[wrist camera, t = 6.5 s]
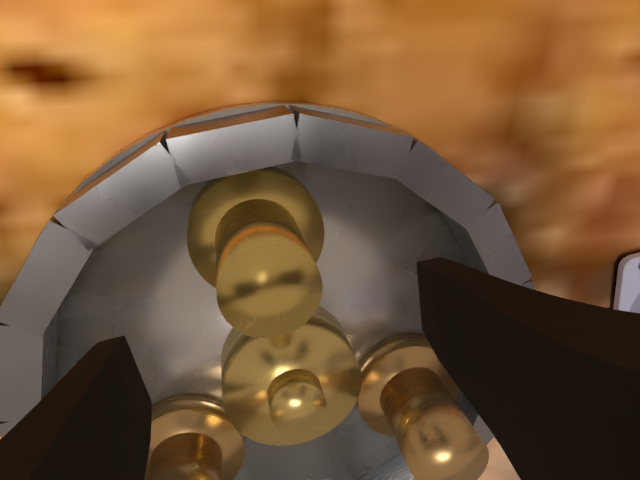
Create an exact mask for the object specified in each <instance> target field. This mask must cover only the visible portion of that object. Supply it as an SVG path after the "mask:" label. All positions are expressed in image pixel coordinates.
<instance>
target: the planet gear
mask: <svg viewBox="0 0 640 480" xmlns="http://www.w3.org/2000/svg"><path fill="white" fill-rule="evenodd" d="M323 243H324V223H323V218H322V215H321V212H320V210H319V207H318V206H317V204H316V202H315V200H314V199H313V197H312V196H311V194H310V193H309V191H308V190H307V189H306V187H305V186H304V185H303V184H302V183H301V182H300V181H299V180H298V179H297V178H296V177H295V176H293V175H292V174H291V173H289V172H287V171H285V170H283V169H281V168H278V167H276V166H271V167H267V168H262V169H257V170H253V171H248V172H243V173H239V174H234V175H230V176H225V177H220V178H216V179H211V180H209V181H208V182H207V183H206V184H205V185H204V186H203V187H202V188H201V189H200V191H199V192H198V193H197V195H196V197H195V199H194V201H193V203H192V206H191V209H190V213H189V219H188V227H187V247H188V251H189V255H190V258H191V261H192V263H193V265H194V267H195V268H196V270H197V271H198V273H199V274H200V275H201V277H202V278H203V279H204V280H205V281H206V282H208V283H209V284H210V285H211V286H213V287H214V288H216V289H217V303H218V307H219V309H220V312H221V314H222V316H223V317H224V319H225V320H226V321H227V322H228V323H229V324H230V325H231V326H232V327H233V328H235V329H236V330H238V331H239V332H241V333H243V334H246V335H249V336H253V337H258V338H274V337H279V336H283V335H286V334H289V333H291V332H293V331H295V330H297V329H298V328H300V327H301V326H303V325H304V324H305V323H306V322H307V321H308V320H309V319H310V318H311V317H312V316H313V314H314V313H315V311H316V310H317V308H318V306H319V304H320V301H321V297H322V291H323V285H322V278H321V274H320V272H319V270H318V267H317V265H316V263H317V261H318V259H319V257H320V255H321V251H322V248H323Z"/></svg>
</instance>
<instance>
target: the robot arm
mask: <svg viewBox="0 0 640 480" xmlns="http://www.w3.org/2000/svg"><path fill="white" fill-rule="evenodd" d="M639 263H640V252H639V253H635V254H631V255H628V256H626V257H624V258H623V259H622V260H621V261H620V263H619V266H618V273H617V282H616V290H615V299H614V307H613V309H610V308H605V307H599V306H594V305H590V304H586V303H581V302H577V301H573V300H568V299H564V298H561V297H557V296H553V295H550V294H546V293H543V292H540V291H536V290H533V289H530V288H527V287H524V286H521V285H518V284H515V283H512V282H509V281H506V280H503V279H500V278H498V277H495V276H492V275H489V274H487V273H484V272H481V271H479V270H476V269H474V268H471V267H468V266H466V265H463V264H460V263H457V262H455V261H452V260H449V259H446V258H442V257H436V258H432V259H428V260H424V261H420V262H416V264H417V276H418V288H419V299H420V311H421V322H422V330H423V332H424V334H425V336H426V338H427V340H428V342H429V344H430V345H431V347H432V349H433V351H434V353H435V354H436V356H437V358H438V360H439V361H440V363H441V364H442V366H443V367H444V368H445V370H446V371H447V373H448V374H449V375H450V377H451V378H452V379H453V381H454V382H455V383H456V385H457V386H458V388H459V389H460V390H461V392H462V393H463V394H464V396H465V397H466V398H467V400H468V401H469V402H470V404H471V405H472V406H473V408H474V409H475V410H476V412H477V413H478V414H479V416H480V417H481V418H482V420H483V421H484V422H485V424H486V425H487V426H488V428H489V429H490V431H491V432H492V434H493V435H494V436H495V438H496V439H497V441H498V442H499V444H500V445H501V447H502V448H503V450H504V452H505V454H506V455H507V457H508V459H509V460H510V462H511V464H512V465H513V467H514V469H515V470H516V472H517V474H518V475H519V477H520V479H521V480H640V264H639ZM151 421H152V401H151V399H150V396H149V394H148V391H147V389H146V386H145V384H144V382H143V379H142V377H141V374H140V372H139V369H138V367H137V364H136V362H135V359H134V357H133V354H132V352H131V350H130V347H129V345H128V342H127V340H126V337H125V335H124V336H120V337H116V338H112V339H108V340H104V341H100V342H97V343H96V344H95V345H94V346H93V347H92V348H91V349H90V350H89V351H88V352H87V353H86V354H85V355H84V356H83V357H82V358H81V359H80V360H79V361H78V362H77V363H76V364H75V365H74V366H73V367H72V368H71V369H70V370H69V372H68V373H67V374H66V375H65V376H64V377H63V378H62V379H61V380H60V381H59V382H58V383H57V384H56V385H55V386H54V387H53V388H52V389H51V390H50V391H49V392H48V394H47V395H46V396H45V397H44V398H43V399H42V400H41V401H40V402H39V403H38V404H37V405H36V406H35V407H34V408H33V409H32V410H31V411H30V412H29V413H27V414H26V415H25V416H24V417H23V418H22V419H21V420H20V421H19V422H18V423H17V424H16V425H15V426H14V427H13V428H12V429H11V430H10V431H9V432H8V433H7V434H6V435H5V436H4V437H3V438H2V439H0V480H144V477H145V472H146V466H147V460H148V454H149V448H150V442H151Z"/></svg>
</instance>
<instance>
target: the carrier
mask: <svg viewBox="0 0 640 480" xmlns="http://www.w3.org/2000/svg"><path fill="white" fill-rule="evenodd" d="M271 166H276V167H278V168H281V169H283V170H285V171H287V172H289V173H291V174H292V175H293V176H295V177H296V178H297V179H298V180H299V181H300V182H301V183H302V184H303V185H304V186H305V187H306V189H307V190H308V191H309V193H310V194H311V196H312V197H313V199H314V200H315V202H316V204H317V206H318V207H319V210H320V212H321V215H322V218H323V223H324V243H323V248H322V251H321V255H320V257H319V259H318V261H317V263H316V265H317V267H318V270H319V272H320V274H321V278H322V285H323V291H322V297H321V301H320V304H319V306H318V308H317V310H316V311H315V313H314V314H313V316H312V317H311V318H310V319H309V320H308V321H307V322H306V323H305V324H304V325H303V326H301V327H300V328H298V329H297V330H295V331H293V332H291V333H289V334H286V335H283V336H279V337H274V338H258V337H253V336H249V335H246V334H243V333H241V332H239V331H238V330H236V329H235V328H233V327H232V326H231V325H230V324H229V323H228V322H227V321H226V320H225V319H224V317H223V316H222V314H221V312H220V309H219V307H218V303H217V289H216V288H214V287H213V286H211V285H210V284H209V283H208V282H206V281H205V280H204V279H203V278H202V277H201V275H200V274H199V273H198V271H197V270H196V268H195V267H194V265H193V263H192V261H191V258H190V255H189V251H188V247H187V227H188V219H189V213H190V209H191V206H192V203H193V201H194V199H195V197H196V195H197V193H198V192H199V191H200V189H201V188H202V187H203V186H204V185H205V184H206V183H207V182H208V181H209V180H211V179H216V178H220V177H225V176H230V175H234V174H239V173H243V172H248V171H253V170H257V169H262V168H267V167H271ZM436 257H442V258H446V259H449V260H452V261H455V262H457V263H460V264H463V265H466V266H468V267H471V268H474V269H476V270H479V271H481V272H484V273H487V274H489V275H492V276H495V277H498V278H500V279H503V280H506V281H509V282H512V283H515V284H518V285H521V286H524V287H527V288H530V289H533V281H532V280H531V278H532V275H531V273H530V271H529V269H528V266H527V264H526V262H525V260H524V258H523V255H522V253H521V251H520V249H519V247H518V244H517V242H516V240H515V238H514V236H513V234H512V231H511V229H510V227H509V225H508V223H507V220H506V218H505V216H504V214H503V212H502V209H501V207H500V205H499V203H498V202H497V201H495V198H494V197H492V196H491V195H490V194H488V193H487V192H486V191H484V190H483V189H482V188H481V187H479V186H478V185H477V184H475V183H474V182H473V181H471V180H470V179H469V178H468V177H466V176H465V175H464V174H462V173H461V172H460V171H458V170H457V169H456V168H455V167H453V166H452V165H451V164H449V163H448V162H447V161H446V160H444V159H443V158H442V157H441V156H440V155H439V154H438V153H437V152H435V151H434V150H432V149H431V148H429V147H428V146H426V145H425V144H423V143H422V142H421V141H420V140H418V139H416V138H414V137H412V136H411V135H409V134H407V133H405V132H403V131H401V130H399V129H396V128H394V127H392V126H390V125H388V124H386V123H383V122H381V121H379V120H377V119H375V118H373V117H370V116H367V115H363V114H360V113H356V112H353V111H350V110H346V109H343V108H339V107H334V106H327V105H320V104H314V103H307V102H256V103H249V104H241V105H233V106H226V107H222V108H218V109H214V110H211V111H207V112H203V113H200V114H196V115H192V116H188V117H186V118H183V119H181V120H179V121H176V122H174V123H172V124H169V125H167V126H164V127H162V128H160V129H157V130H155V131H153V132H151V133H149V134H147V135H146V136H144V137H142V138H140V139H139V140H137V141H135V142H134V143H132V144H130V145H129V146H127V147H125V148H124V149H122V150H120V151H119V152H117V153H116V154H115V155H113V156H112V157H111V158H110V159H108V160H107V161H106V162H105V163H104V164H102V165H101V166H100V167H99V168H97V169H96V170H95V171H94V172H92V173H91V174H90V175H89V176H88V177H87V178H86V179H85V180H84V181H83V182H82V183H81V184H80V185H79V186H78V187H77V188H76V190H75V191H74V192H73V193H72V194H71V195H70V196H69V197H68V198H67V199H66V200H65V201H64V203H63V204H62V205H61V206H60V207H59V208H58V209H57V211H56V212H55V213H54V215H53V216H52V218H51V219H50V220H49V221H48V223H47V225H46V227H45V228H44V230H43V231H42V233H41V234H40V236H39V237H38V239H37V240H36V242H35V244H34V246H33V248H32V250H31V252H30V255H29V257H28V259H27V261H26V262H25V264H24V266H23V268H22V269H21V271H20V273H19V275H18V277H17V278H16V280H15V282H14V284H13V285H12V287H11V289H10V291H9V293H8V294H7V296H6V298H5V300H4V301H3V303H2V305H1V307H0V436H1V438H3V437H4V436H5V435H6V434H7V433H8V432H9V431H10V430H11V429H12V428H13V427H14V426H15V425H16V424H17V423H18V422H19V421H20V420H21V419H22V418H23V417H24V416H25V415H26V414H27V413H29V412H30V411H31V410H32V409H33V408H34V407H35V406H36V405H37V404H38V403H39V402H40V401H41V400H42V399H43V398H44V397H45V396H46V395H47V394H48V392H49V391H50V390H51V389H52V388H53V387H54V386H55V385H56V384H57V383H58V382H59V381H60V380H61V379H62V378H63V377H64V376H65V375H66V374H67V373H68V372H69V370H70V369H71V368H72V367H73V366H74V365H75V364H76V363H77V362H78V361H79V360H80V359H81V358H82V357H83V356H84V355H85V354H86V353H87V352H88V351H89V350H90V349H91V348H92V347H93V346H94V345H95V344H96V343H97V342H100V341H104V340H108V339H112V338H116V337H120V336H124V335H125V337H126V340H127V342H128V345H129V347H130V350H131V352H132V354H133V357H134V359H135V362H136V364H137V367H138V369H139V372H140V374H141V377H142V379H143V382H144V384H145V386H146V389H147V391H148V394H149V396H150V399H151V401H152V421H151V442H150V448H149V454H148V460H147V466H146V472H145V477H144V480H477V479H478V478H479V477H480V476H481V475H482V473H483V472H484V470H485V468H486V466H487V464H488V459H489V453H488V449H487V447H486V445H487V444H488V443H489V442H490V441H491V440H492V438H493V437H494V435H493V434H492V432H491V431H490V429H489V428H488V426H487V425H486V424H485V422H484V421H483V420H482V418H481V417H480V416H479V414H478V413H477V412H476V410H475V409H474V408H473V406H472V405H471V404H470V402H469V401H468V400H467V398H466V397H465V396H464V394H463V393H462V392H461V390H460V389H459V388H458V386H457V385H456V383H455V382H454V381H453V379H452V378H451V377H450V375H449V374H448V373H447V371H446V370H445V368H444V367H443V366H442V364H441V363H440V361H439V360H438V358H437V356H436V354H435V353H434V351H433V349H432V347H431V345H430V344H429V342H428V340H427V338H426V336H425V334H424V332H423V330H422V322H421V311H420V299H419V288H418V276H417V264H416V262H420V261H424V260H428V259H432V258H436Z"/></svg>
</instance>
